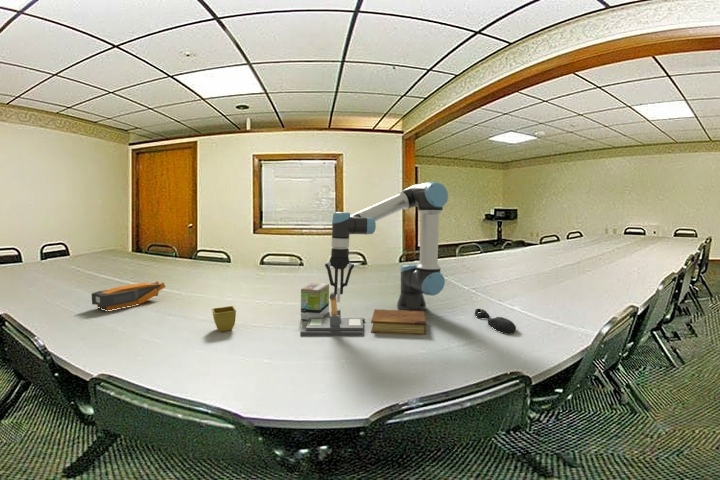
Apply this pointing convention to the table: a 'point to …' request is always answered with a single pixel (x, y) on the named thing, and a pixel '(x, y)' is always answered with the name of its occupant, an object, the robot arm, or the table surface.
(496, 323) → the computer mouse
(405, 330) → the diary
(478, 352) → the table surface
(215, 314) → the flower pot
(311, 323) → the breaker panel
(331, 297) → the lever
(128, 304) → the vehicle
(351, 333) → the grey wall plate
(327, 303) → the tea box
